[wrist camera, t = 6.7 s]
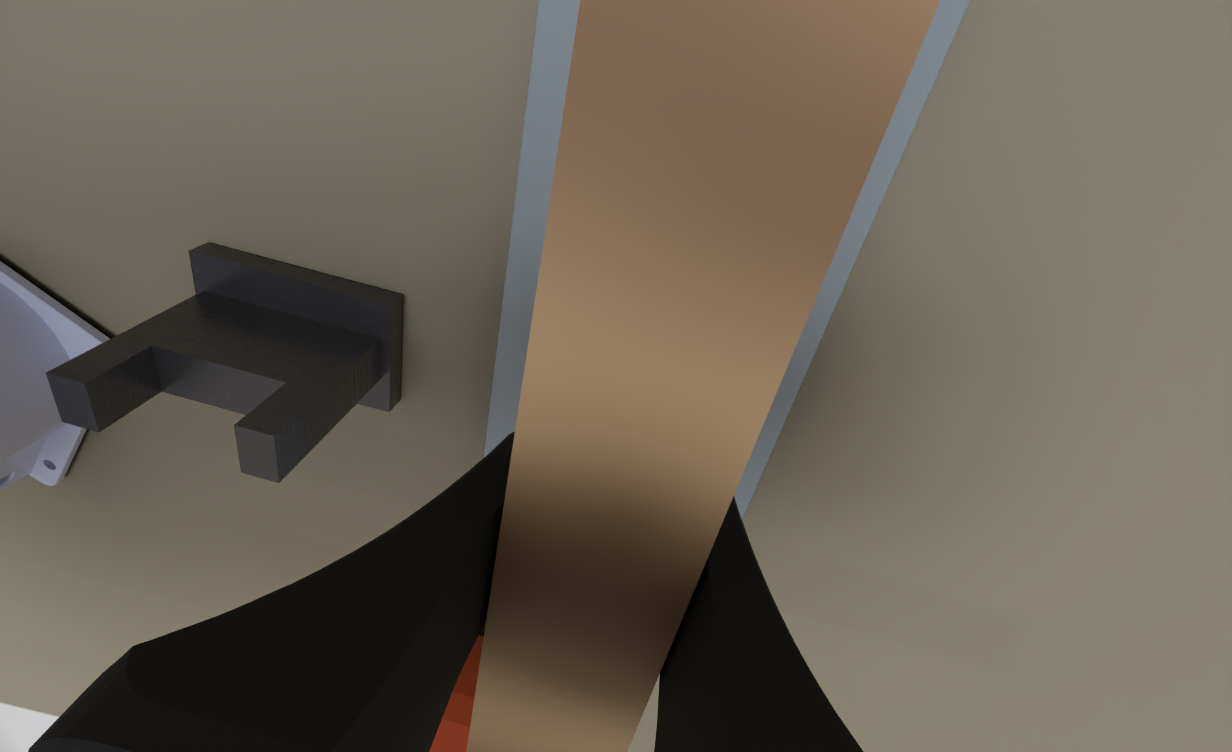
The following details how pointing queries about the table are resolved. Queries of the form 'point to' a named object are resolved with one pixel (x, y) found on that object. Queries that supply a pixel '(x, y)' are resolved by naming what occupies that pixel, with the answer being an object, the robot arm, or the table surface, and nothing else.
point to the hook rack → (249, 356)
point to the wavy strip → (667, 327)
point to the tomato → (459, 707)
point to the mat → (535, 192)
